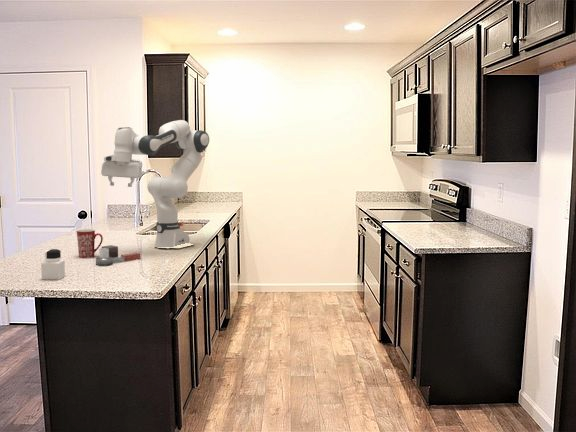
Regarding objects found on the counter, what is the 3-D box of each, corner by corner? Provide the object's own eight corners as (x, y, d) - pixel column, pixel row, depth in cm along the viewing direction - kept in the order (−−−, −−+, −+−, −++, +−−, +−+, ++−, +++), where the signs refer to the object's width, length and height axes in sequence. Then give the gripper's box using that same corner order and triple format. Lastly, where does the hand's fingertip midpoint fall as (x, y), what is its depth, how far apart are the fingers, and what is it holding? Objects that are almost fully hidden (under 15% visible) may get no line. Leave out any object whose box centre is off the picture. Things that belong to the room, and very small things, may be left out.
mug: (74, 258, 276) (73, 231, 274) (80, 254, 285) (79, 228, 283) (100, 258, 276) (99, 231, 275) (105, 255, 285) (104, 229, 284)
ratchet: (133, 257, 281) (133, 242, 280) (143, 259, 276) (143, 244, 275) (92, 264, 263) (92, 248, 262) (102, 266, 258) (101, 250, 257)
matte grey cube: (111, 256, 281) (111, 245, 280) (118, 258, 278) (118, 246, 277) (101, 258, 277) (101, 246, 276) (108, 260, 273) (108, 248, 273)
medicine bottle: (65, 276, 239) (64, 248, 237) (58, 279, 231) (58, 251, 230) (48, 275, 238) (47, 248, 237) (41, 279, 231) (40, 251, 230)
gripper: (144, 160, 284) (142, 187, 284) (106, 158, 286) (104, 185, 286) (140, 159, 278) (138, 187, 278) (100, 157, 280) (99, 184, 280)
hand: (120, 186), depth 282 cm, fingers open, 8 cm apart
